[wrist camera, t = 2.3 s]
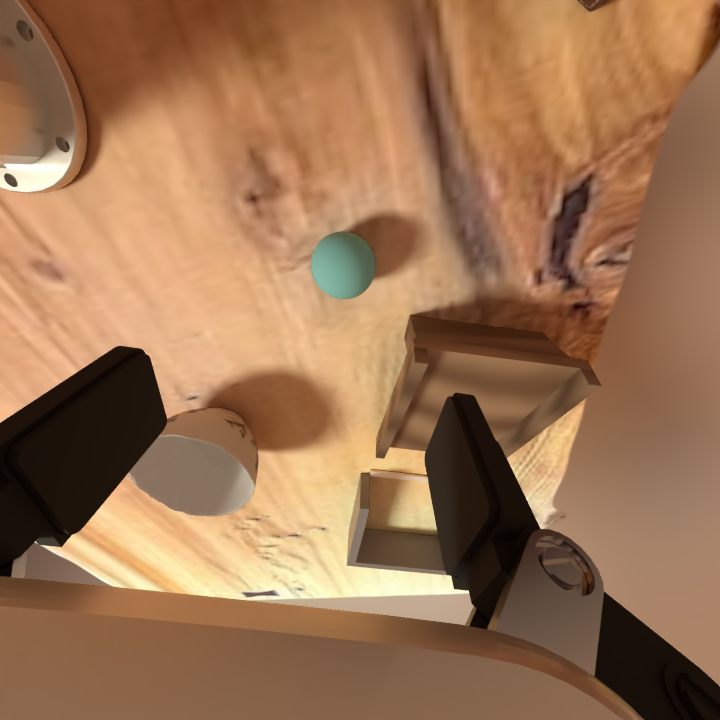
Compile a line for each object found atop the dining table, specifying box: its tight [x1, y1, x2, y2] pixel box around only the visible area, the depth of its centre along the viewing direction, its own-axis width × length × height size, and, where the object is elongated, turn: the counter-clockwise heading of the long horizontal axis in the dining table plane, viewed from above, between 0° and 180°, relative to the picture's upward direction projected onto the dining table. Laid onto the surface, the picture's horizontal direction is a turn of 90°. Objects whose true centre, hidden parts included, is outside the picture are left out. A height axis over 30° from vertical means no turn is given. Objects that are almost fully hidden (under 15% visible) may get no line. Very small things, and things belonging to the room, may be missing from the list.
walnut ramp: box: [376, 315, 601, 458], centre depth 29 cm, size 18×14×8 cm
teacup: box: [126, 407, 258, 517], centre depth 33 cm, size 15×12×8 cm
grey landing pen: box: [347, 470, 447, 575], centre depth 42 cm, size 16×16×5 cm
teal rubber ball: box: [311, 232, 376, 299], centre depth 23 cm, size 5×5×5 cm
